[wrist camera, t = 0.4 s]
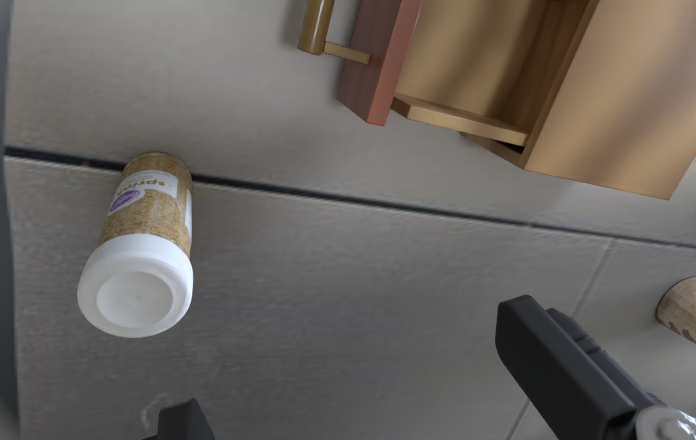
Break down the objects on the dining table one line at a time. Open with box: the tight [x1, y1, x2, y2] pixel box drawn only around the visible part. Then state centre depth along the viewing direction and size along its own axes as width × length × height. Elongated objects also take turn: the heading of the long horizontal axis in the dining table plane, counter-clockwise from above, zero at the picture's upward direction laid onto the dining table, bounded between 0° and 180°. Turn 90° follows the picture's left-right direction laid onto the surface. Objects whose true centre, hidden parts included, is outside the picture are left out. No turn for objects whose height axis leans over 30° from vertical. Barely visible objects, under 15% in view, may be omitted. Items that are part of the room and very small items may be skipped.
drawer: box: [297, 0, 589, 147], centre depth 27 cm, size 18×11×6 cm, turn 74°
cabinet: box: [461, 0, 696, 200], centre depth 33 cm, size 15×13×8 cm
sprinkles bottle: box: [77, 152, 193, 338], centre depth 25 cm, size 5×5×14 cm
